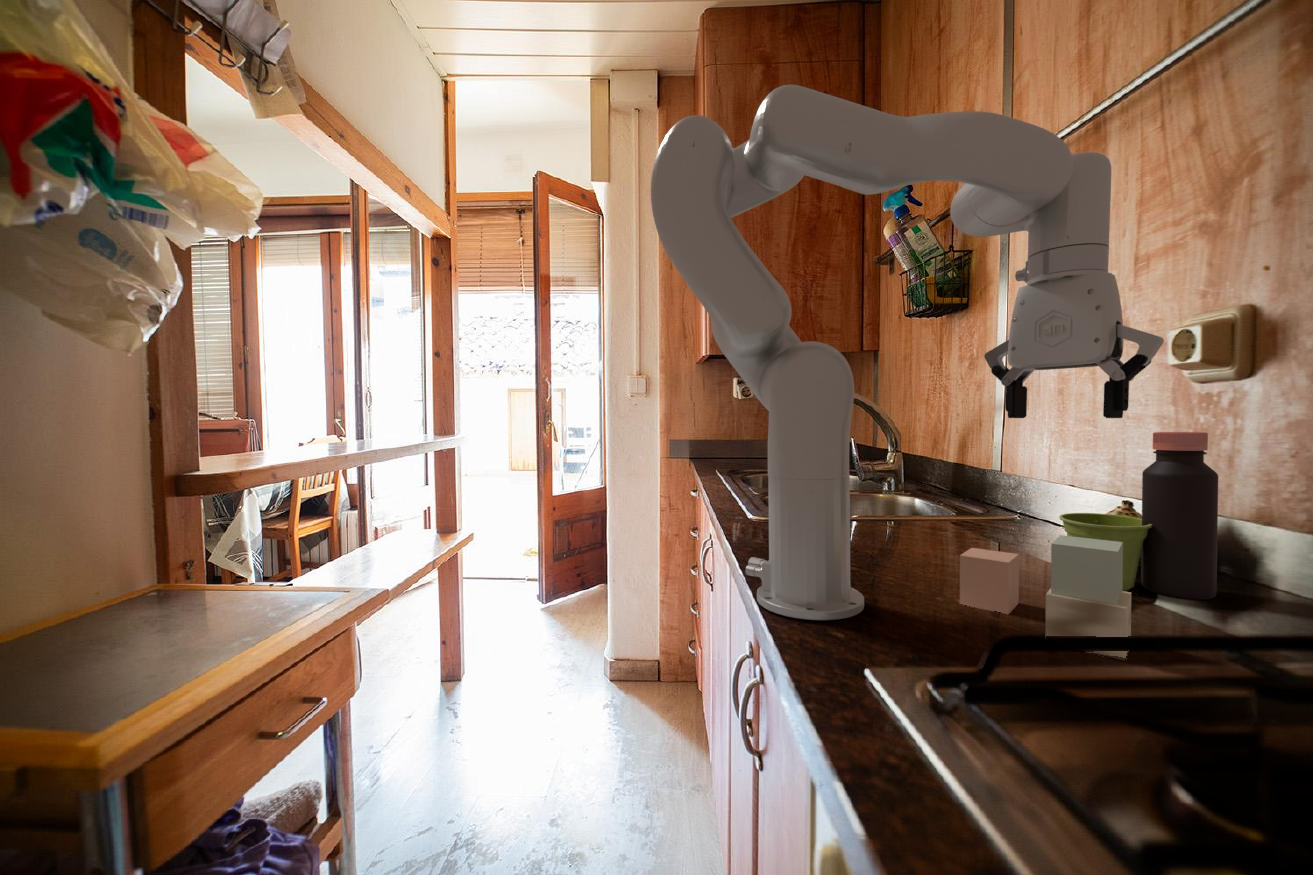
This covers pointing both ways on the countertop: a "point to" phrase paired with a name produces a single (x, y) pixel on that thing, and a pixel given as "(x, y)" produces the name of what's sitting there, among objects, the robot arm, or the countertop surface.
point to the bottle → (1180, 518)
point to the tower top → (1087, 569)
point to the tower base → (1088, 618)
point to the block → (989, 580)
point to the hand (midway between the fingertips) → (1062, 418)
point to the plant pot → (1111, 536)
